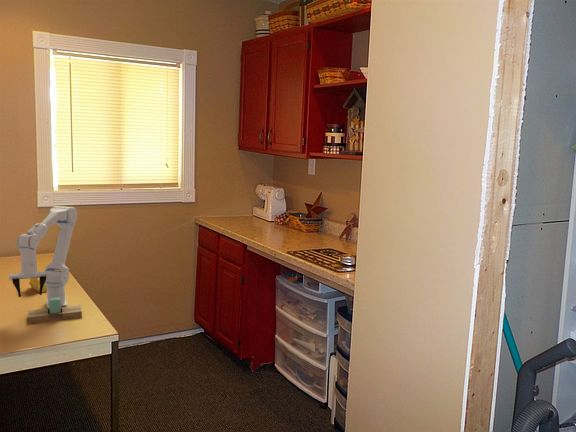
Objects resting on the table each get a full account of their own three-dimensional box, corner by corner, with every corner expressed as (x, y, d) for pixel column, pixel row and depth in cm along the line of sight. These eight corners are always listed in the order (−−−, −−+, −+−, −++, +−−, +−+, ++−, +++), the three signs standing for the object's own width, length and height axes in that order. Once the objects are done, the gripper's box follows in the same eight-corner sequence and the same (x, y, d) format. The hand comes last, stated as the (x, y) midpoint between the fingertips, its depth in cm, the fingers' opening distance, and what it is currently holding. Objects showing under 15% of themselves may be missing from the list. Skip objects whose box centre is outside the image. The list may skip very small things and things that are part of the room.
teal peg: (50, 316, 216) (49, 297, 215) (60, 314, 218) (59, 296, 217) (50, 319, 213) (49, 300, 212) (60, 318, 215) (60, 299, 213)
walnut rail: (28, 316, 215) (28, 310, 214) (80, 310, 224) (80, 305, 223) (28, 323, 208) (28, 317, 207) (81, 317, 217) (81, 311, 216)
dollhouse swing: (56, 289, 250) (55, 271, 249) (35, 294, 244) (34, 275, 242) (46, 285, 257) (46, 267, 256) (26, 288, 250) (25, 270, 249)
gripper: (8, 267, 204) (10, 300, 206) (48, 264, 210) (50, 296, 212) (8, 262, 210) (10, 294, 212) (48, 260, 216) (49, 291, 219)
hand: (30, 295), depth 213 cm, fingers open, 7 cm apart
